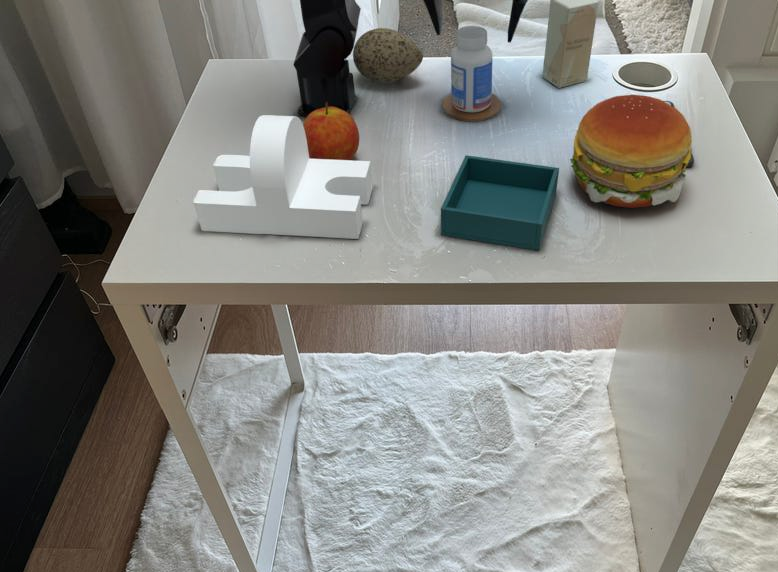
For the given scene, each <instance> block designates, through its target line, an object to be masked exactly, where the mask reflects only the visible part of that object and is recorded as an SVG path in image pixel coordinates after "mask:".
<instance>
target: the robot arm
mask: <svg viewBox="0 0 778 572" xmlns="http://www.w3.org/2000/svg"><path fill="white" fill-rule="evenodd" d="M422 1H423V3H424V5H425V8H426V10H427V12H428V15H429V17H430V20H431V23H432V25H433V29H434V31H435V34H436V36H441V35H442V34H443V33H442V32H443V21H444V17H443V16H444V15H443V0H422ZM511 1H512V2H511V9H510V16H509V21H508V27H507V43H509V44H510V43H512V41H513V39H514V35H515V33H516V30H517V28H518V25H519V23H520V20H521V18H522V15H523V13H524V9H525V7H526V5H527V3H528V1H529V0H511ZM299 4H300V12H301V18H302V24H303V27H304V32H303V33H302V35H301V38H300V41H299V45H298V48H297V52H296V55H295V58H294V61H293V67H294V69H295V71H296V79H297V84H298V90H299V99H300V104H301V105H300V106H299V107H298V108H297V110H296V114H297V116H302V117H307V116H308V115H309V114H310V113H311V112H313V111H315V110H317V109H321V108H324V107H326V104H325V102H328V107H336V108H339V109H341V110H343V111H345V112H347V113H349V112H350V110H351V109H352V107H353V106H354V104H355V103H356V101H357V100H358V96H357V94H356V90H355V79H354V73H353V72H350V64H349V60H348V59H347V58H348V57H349V56H350V55H352V53H353V50H354V46H355V44H356V38H357V33H358V28H359V27H358V26H359V21H360V16H361V15H360V14H361V9H362V8H361V7H360V5H359V4H358V3H357V1H356V0H299Z"/></svg>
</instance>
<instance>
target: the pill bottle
mask: <svg viewBox="0 0 778 572" xmlns="http://www.w3.org/2000/svg"><path fill="white" fill-rule="evenodd" d="M455 44H456V46H454V47H453V49H451V50H452V51H451V53H450V85H451V86H450V88H451V93H450V94H451V95H452V105H453V106H454V107H455V108H456V109H458V110H460V111H463V112H469V113H474V112H480V111H483V110H485V109H487V108H488V107H489V106H490V104H491V99H492V94H493V89H492V88H493V51H492V49H491V47H489V45H487V44H488V31H487V29H486V28H484V27H482V26H479V25H466V26H462V27H459V28H457V30H456V31H455Z"/></svg>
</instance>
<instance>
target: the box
mask: <svg viewBox="0 0 778 572" xmlns="http://www.w3.org/2000/svg"><path fill="white" fill-rule="evenodd" d="M598 9H599V1H598V0H550V1H549V9H548V21H547V29H546V39H545V49H544V56H543V57H544V59H543V65H542V78H544V79H545V80H547V81H548V82H549V83H550V84H552V85H554V86H555V87H556V88H558V89H560V88H565V87H568V86H573V85H576V84H580V83H584V82H587V81H588V75H589V68H590V63H591V62H590V61H591V55H592V49H593V48H592V47H593V43H594V42H593V41H594V37H595V29H596V22H597V15H598Z"/></svg>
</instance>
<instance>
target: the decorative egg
mask: <svg viewBox="0 0 778 572" xmlns="http://www.w3.org/2000/svg"><path fill="white" fill-rule="evenodd" d="M352 59H353V63H354V66H355V68H356V70H357V71H358V73H359V74H360V75H362V76H363V77H364V78H366V79H367V80H369V81H371V82H374V83H379V84H391V83H394V82H398V81H400V80H402V79H403V80H404V79H405V78H406V77H408V76H410V75H411V74H412V73H413V72H415V70H417V69H418V68H419V67H420V65H421V64H422V62H423V60H424V55H423V52H422V50H421V48H420V47H419V46H418V45H417V44H416V43H415V42H414V41H413V39H411V38H410V37H408V35H405V34H404V33H402V32H400V31H398V30H395V29H392V28H387V27H378V28H373V29H370V30H367V31H365V32H364V33H363V34H361V35H360V36H359V37H358V39H357V40H356V41H355V43H354V48H353V50H352Z"/></svg>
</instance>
